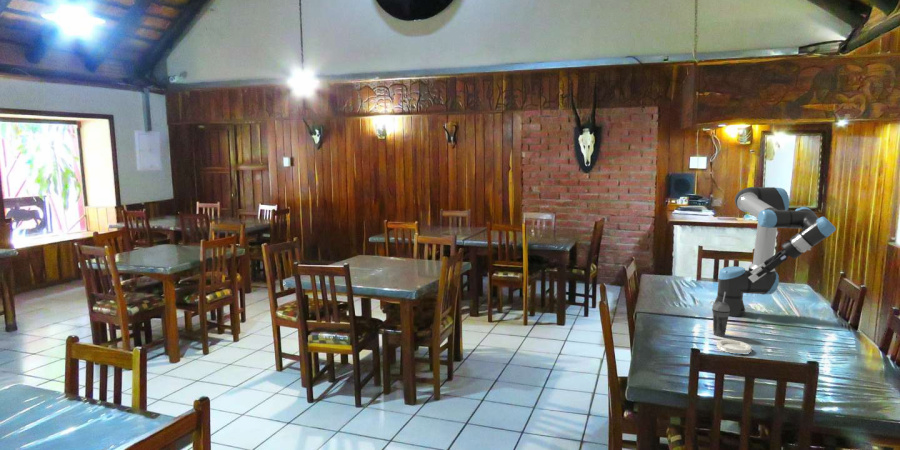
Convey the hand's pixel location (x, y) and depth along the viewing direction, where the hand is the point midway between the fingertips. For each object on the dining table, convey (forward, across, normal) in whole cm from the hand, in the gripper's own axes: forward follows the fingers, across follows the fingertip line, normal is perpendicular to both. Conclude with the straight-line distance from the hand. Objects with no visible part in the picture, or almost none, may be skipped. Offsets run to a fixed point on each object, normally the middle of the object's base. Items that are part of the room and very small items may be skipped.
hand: (751, 277), depth 240 cm
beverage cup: (+28, 0, -12) cm, 30 cm away
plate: (+22, -16, -18) cm, 33 cm away
